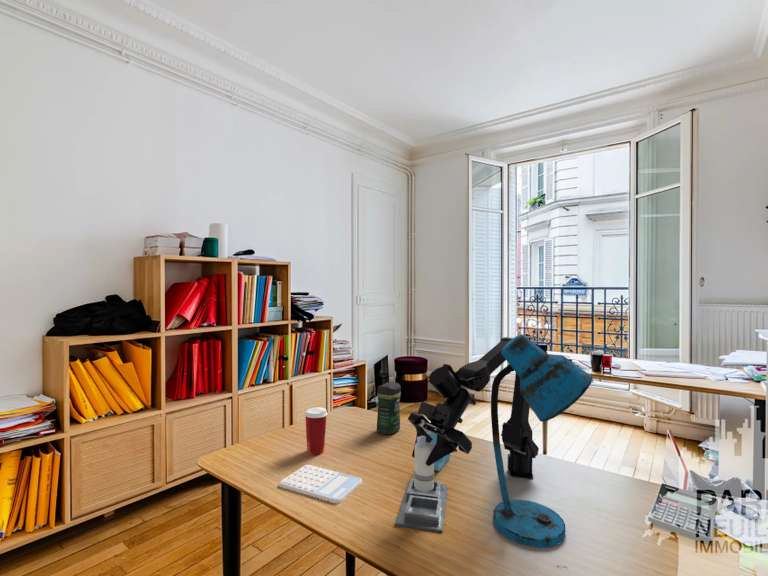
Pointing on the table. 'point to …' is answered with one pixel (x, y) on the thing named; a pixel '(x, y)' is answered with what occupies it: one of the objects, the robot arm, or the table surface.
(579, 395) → the desk lamp
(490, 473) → the table surface
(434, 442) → the data package
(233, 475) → the table surface
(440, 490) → the panel
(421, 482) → the plug
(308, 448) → the paper cup
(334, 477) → the calculator
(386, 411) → the coffee jar
